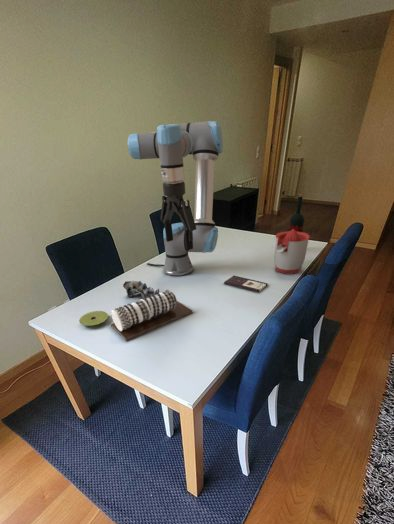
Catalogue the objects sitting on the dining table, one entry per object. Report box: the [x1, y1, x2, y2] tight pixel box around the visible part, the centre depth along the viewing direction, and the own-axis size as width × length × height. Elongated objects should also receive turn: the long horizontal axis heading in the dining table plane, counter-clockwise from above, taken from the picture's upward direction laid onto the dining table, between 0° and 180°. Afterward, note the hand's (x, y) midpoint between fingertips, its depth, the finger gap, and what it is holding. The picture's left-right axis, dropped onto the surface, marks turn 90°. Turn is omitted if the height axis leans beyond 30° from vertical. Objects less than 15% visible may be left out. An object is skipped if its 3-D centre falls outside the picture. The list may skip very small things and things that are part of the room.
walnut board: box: [110, 300, 193, 342], centre depth 116 cm, size 30×13×1 cm, turn 128°
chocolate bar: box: [223, 275, 268, 293], centre depth 138 cm, size 9×1×18 cm
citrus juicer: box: [273, 229, 310, 275], centre depth 143 cm, size 16×17×20 cm
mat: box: [78, 310, 109, 327], centre depth 117 cm, size 11×11×2 cm
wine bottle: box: [287, 193, 305, 232], centre depth 161 cm, size 8×10×30 cm
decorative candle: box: [110, 289, 178, 331], centre depth 112 cm, size 9×9×25 cm
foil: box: [122, 280, 160, 299], centre depth 131 cm, size 12×11×15 cm
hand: (179, 245), depth 112 cm, fingers open, 13 cm apart
